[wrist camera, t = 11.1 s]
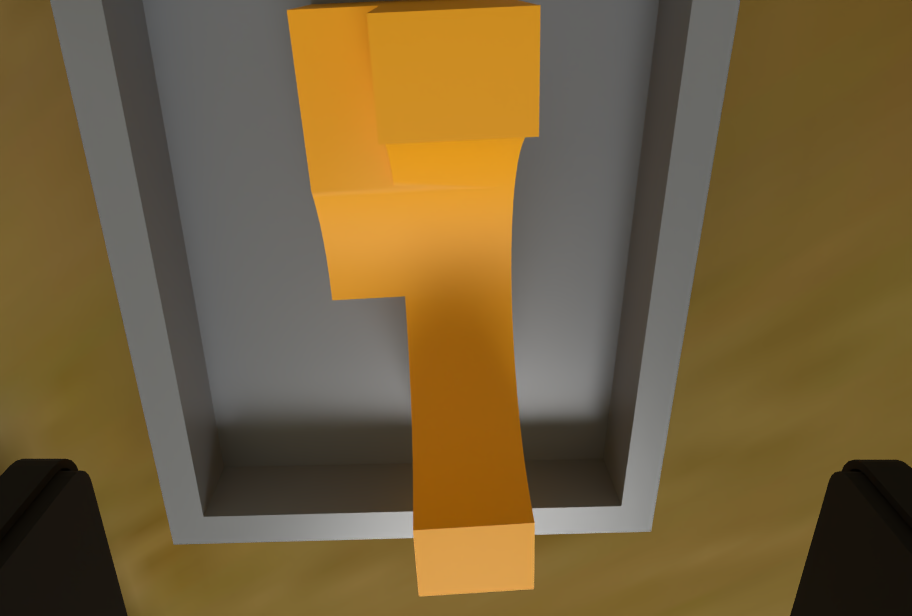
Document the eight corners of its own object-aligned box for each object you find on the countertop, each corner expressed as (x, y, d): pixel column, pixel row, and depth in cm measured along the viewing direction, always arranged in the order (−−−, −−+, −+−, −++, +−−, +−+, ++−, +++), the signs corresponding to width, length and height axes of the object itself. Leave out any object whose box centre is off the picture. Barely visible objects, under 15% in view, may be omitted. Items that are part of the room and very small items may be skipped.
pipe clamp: (311, 4, 16) (247, 19, 10) (497, -5, 16) (540, 5, 10) (363, 430, 21) (340, 601, 15) (503, 421, 21) (534, 589, 15)
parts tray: (706, -124, 16) (764, -146, 13) (624, 467, 23) (650, 531, 20) (86, -132, 15) (14, -156, 13) (203, 476, 23) (173, 544, 20)
